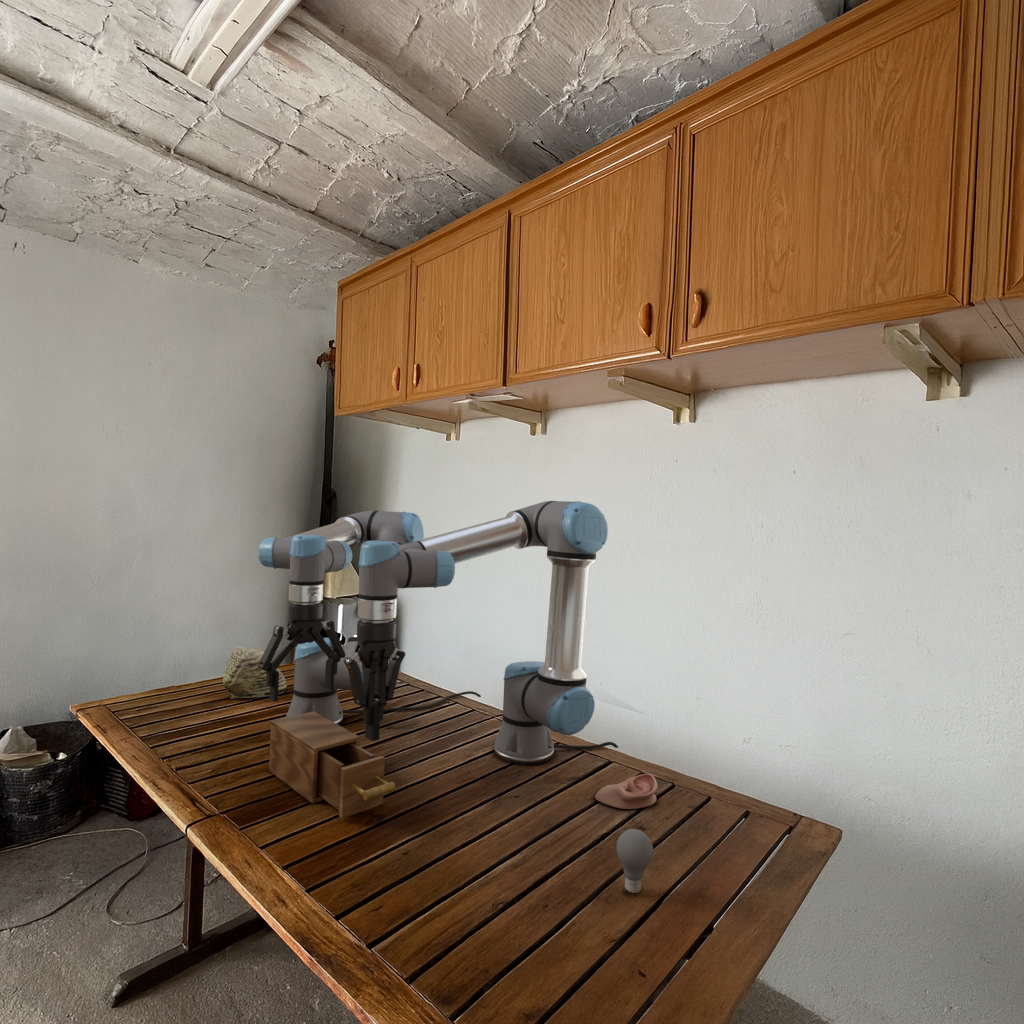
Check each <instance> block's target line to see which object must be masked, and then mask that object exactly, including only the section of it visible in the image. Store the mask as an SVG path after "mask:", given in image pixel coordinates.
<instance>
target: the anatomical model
mask: <svg viewBox="0 0 1024 1024" xmlns="http://www.w3.org/2000/svg"><path fill="white" fill-rule="evenodd" d="M657 791H658V782H657V779H656V777H655V776H654V775H653V774H651V773H642V774H639V775H635V776H632V777H630V778H628V779H626V780H624V781H622V782H620V783H616V784H607V785H605V786H602V787H601V788H600V789H599V790H598V791H596V793H595V795H594V798H595V800H596V801H597V802H599V803H602V804H604V805H607V806H610V807H613V808H617V809H621V810H632V809H640V808H646V807H650V806H652V805H654V804H655V803H656V802H657V796H656V792H657Z"/></svg>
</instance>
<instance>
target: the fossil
mask: <svg viewBox="0 0 1024 1024" xmlns="http://www.w3.org/2000/svg"><path fill="white" fill-rule="evenodd" d="M264 652H265V650H264V649H263V648H260V647H258V648H251V647H247V646H246V647H245V646H238V647H237V648H236V649H235V650H233V651H232V653H231V656H230V657H229V659H228V660H227V663H226V666H225V668H224V671H223V675H222V676H223V677H222V685H223V687H224V688H225V690H226V691H228V693H229V698H230V699H250V698H264V697H269V692H270V686H268V685H267V684H266V671H264V670H262V669H260V668H258V664H259V662H260V660H261V658H262V656H263V654H264ZM276 671H278V672H279V685H278V695H281V694H284V693H285V691H286V689H287V687H288V686H287V680H286V678H285V676H284V674H283V673H282V672H281V669H279V667H278V668H277V669H276Z"/></svg>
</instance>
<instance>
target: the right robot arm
mask: <svg viewBox="0 0 1024 1024" xmlns="http://www.w3.org/2000/svg"><path fill="white" fill-rule="evenodd" d="M608 535H609V526H608V522H607V518H606V517H605V515H604V514H603V512H602V511H601V510H600V508H599V507H598V506H596V505H595V504H592V503H589V502H583V501H579V500H578V501H575V500H574V501H570V500H569V501H567V500H565V501H564V500H561V501H560V500H547V501H542V502H538V503H534V504H531V505H528V506H525V507H522V508H519V509H516V510H515V509H514V510H512V511H509V512H508V513H507V514H506V515H505V516H503V517H501V518H497V519H493V520H489V521H485V522H482V523H478V524H475V525H471V526H467V527H463V528H459V529H455V530H452V531H448V532H444V533H440V534H437V535H433V536H430V537H426V538H425V537H424V539H422V540H418V541H415V542H410V543H406V544H403V545H400V544H398V543H397V542H394V541H366V542H364V543H363V544H362V546H361V547H360V552H359V561H358V570H359V571H358V597H357V612H356V613H357V615H356V616H357V618H358V620H357V622H356V629H357V641H358V644H357V647H356V649H355V653H354V654H353V655H352V656H351V657H350V658H347V657H346V658H345V659H344V663H345V665H346V667H347V668H348V671H349V677H350V682H351V688H352V691H351V693H352V699H353V703H354V704H355V705H357V706H360V707H361V708H362V710H363V713H362V722H363V723H364V724H365V733H364V737H365V738H366V739H367V740H369V741H371V742H375V741H379V740H380V729H381V722H382V721H383V720H384V712H383V709H384V708H385V707H386V706H388V701H389V702H390V701H392V700H393V698H394V695H395V690H396V685H397V682H398V677H399V673H400V668H401V664H402V662H403V660H404V659H405V657H406V651H403V650H400V649H398V648H397V646H396V642H395V639H396V635H397V621H396V620H395V619H396V618H397V608H398V593H399V590H398V588H399V589H417V588H418V589H419V588H420V589H421V588H434V589H436V588H439V587H448V586H449V585H451V584H452V583H453V580H454V578H455V574H456V564H459V563H463V562H466V561H470V560H473V559H476V558H480V557H483V556H486V555H491V554H493V553H496V552H500V551H503V550H507V549H510V548H511V549H512V548H515V549H517V550H521V549H525V548H529V547H544V548H546V558H547V559H548V560H549V561H550V562H551V579H550V593H549V607H548V617H547V618H548V619H547V632H546V641H545V642H546V643H545V655H544V656H545V657H544V661H538V660H537V661H535V660H534V661H533V660H529V661H516V662H512V663H509V664H507V665H506V667H505V670H504V676H503V701H502V702H503V704H502V721H501V725H500V727H499V730H498V733H497V735H496V738H495V741H494V745H493V752H494V754H495V756H496V757H497V758H499V759H500V760H502V761H505V762H508V763H510V764H511V763H512V764H516V765H538V764H543V763H547V762H549V761H551V760H552V759H553V757H554V755H555V748H559V749H570V750H591V749H599V748H603V747H607V746H612V747H614V748H615V749H618V748H619V746H618V745H617V744H616V743H615V742H613V741H605V742H602V743H598V744H591V745H571V744H570V745H569V744H559V743H554V740H553V738H552V734H551V731H552V732H554V733H558V734H559V735H563V736H572V735H573V736H574V735H575V734H578V733H579V732H581V731H582V730H584V728H585V727H586V726H587V725H588V724H589V723H590V721H591V719H592V717H593V715H594V712H595V706H596V703H595V697H594V695H593V694H592V693H591V691H590V690H589V689H588V688H587V678H588V677H587V673H586V672H585V671H584V669H583V668H582V657H583V646H584V631H585V617H586V606H587V605H586V604H587V592H588V579H589V568H590V566H591V565H592V564H593V563H595V562H596V559H597V553H598V552H599V551H601V550H602V549H603V546H604V545H606V542H607V540H608ZM397 592H398V593H397ZM359 619H360V620H359ZM390 657H391V658H390ZM389 659H390V660H389ZM359 660H360V661H361V663H362V670H363V683H362V677H361V672H360V668H359V665H360V663H359ZM388 661H389V663H388ZM386 671H387V672H386Z"/></svg>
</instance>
